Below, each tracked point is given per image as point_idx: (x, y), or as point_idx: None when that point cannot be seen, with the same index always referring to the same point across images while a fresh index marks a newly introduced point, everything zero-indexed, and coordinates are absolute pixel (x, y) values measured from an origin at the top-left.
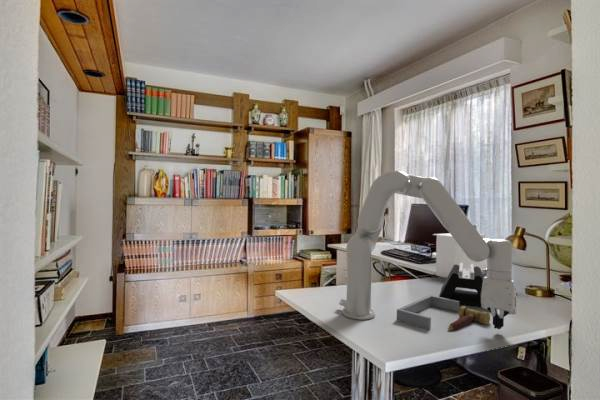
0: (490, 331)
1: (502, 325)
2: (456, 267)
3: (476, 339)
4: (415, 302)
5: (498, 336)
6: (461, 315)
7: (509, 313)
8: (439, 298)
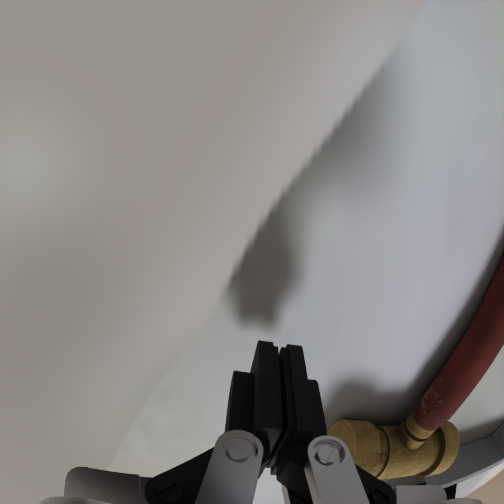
0: (320, 344)
1: (233, 380)
2: None
3: (414, 100)
4: None
5: (262, 278)
6: (444, 424)
7: (137, 484)
8: (486, 465)
